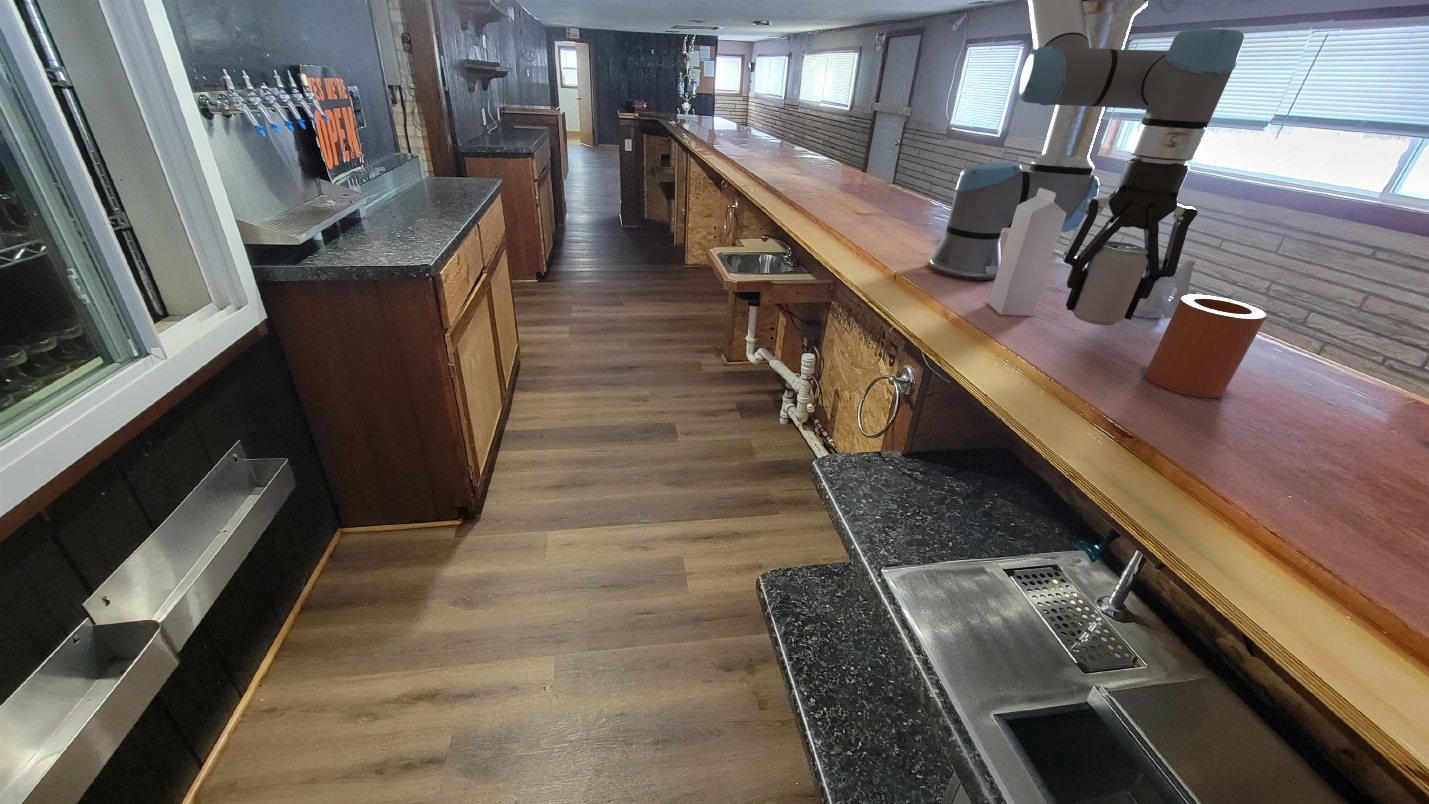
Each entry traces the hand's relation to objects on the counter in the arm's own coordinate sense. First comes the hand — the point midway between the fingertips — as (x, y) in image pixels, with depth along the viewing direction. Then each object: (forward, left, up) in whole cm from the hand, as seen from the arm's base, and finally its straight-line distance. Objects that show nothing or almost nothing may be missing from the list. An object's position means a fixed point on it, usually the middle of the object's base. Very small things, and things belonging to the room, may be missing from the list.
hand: (1097, 311), depth 91 cm
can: (0, 0, -1) cm, 1 cm away
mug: (-24, +14, -6) cm, 28 cm away
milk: (-14, -11, -6) cm, 19 cm away
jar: (+8, +12, -6) cm, 16 cm away
